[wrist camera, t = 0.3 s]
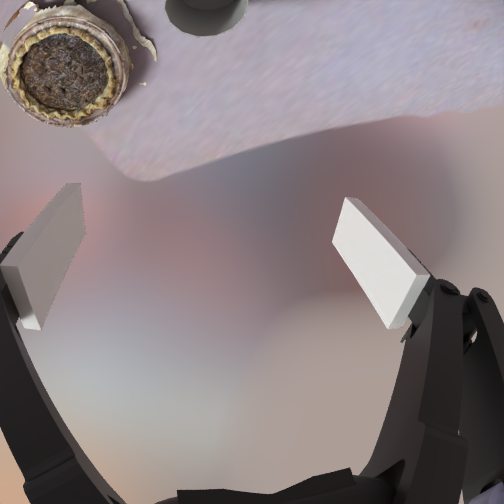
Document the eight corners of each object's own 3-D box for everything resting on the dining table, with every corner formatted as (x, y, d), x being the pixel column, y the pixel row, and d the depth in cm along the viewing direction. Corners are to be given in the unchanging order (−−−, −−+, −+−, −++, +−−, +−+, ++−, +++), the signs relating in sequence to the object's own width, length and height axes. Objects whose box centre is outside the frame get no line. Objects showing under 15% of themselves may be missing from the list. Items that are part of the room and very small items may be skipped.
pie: (180, 93, 44) (177, 112, 42) (57, 144, 49) (50, 163, 47) (104, -49, 19) (90, -43, 17) (-26, 51, 24) (-42, 68, 22)
